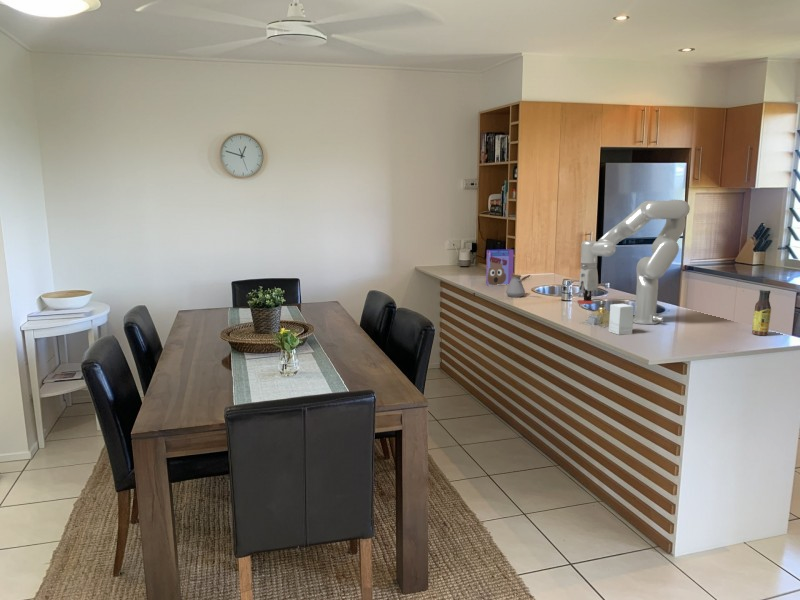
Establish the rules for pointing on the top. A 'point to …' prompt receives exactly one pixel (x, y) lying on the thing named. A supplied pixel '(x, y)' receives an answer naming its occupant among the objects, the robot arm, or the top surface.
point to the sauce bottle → (762, 314)
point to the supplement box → (621, 319)
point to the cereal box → (499, 266)
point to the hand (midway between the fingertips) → (587, 303)
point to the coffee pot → (516, 286)
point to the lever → (592, 302)
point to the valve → (598, 318)
